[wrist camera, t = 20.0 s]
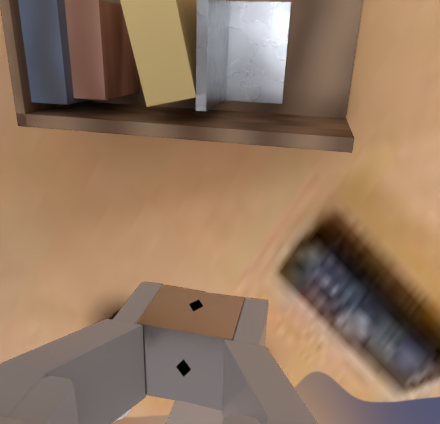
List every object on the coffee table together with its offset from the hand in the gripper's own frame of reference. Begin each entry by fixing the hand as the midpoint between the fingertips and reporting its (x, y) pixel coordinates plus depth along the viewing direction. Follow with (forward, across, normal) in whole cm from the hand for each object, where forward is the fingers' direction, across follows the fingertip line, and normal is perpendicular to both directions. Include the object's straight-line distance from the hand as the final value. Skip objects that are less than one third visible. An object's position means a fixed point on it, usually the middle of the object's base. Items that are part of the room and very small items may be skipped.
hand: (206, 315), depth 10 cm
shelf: (+31, +8, -5) cm, 33 cm away
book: (+30, +9, -6) cm, 32 cm away
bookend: (+30, +4, -6) cm, 31 cm away
